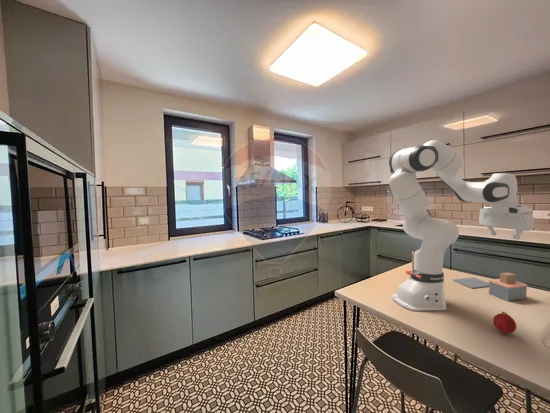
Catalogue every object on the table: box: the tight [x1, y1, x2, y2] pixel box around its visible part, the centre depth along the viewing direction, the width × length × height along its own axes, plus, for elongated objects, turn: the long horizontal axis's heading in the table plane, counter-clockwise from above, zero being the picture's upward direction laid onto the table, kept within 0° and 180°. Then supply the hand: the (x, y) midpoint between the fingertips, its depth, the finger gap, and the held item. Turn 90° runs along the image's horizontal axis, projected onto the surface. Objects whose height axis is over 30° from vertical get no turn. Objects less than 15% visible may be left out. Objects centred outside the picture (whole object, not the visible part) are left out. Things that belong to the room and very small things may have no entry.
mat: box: [452, 277, 489, 290], centre depth 124 cm, size 14×11×1 cm
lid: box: [488, 272, 528, 289], centre depth 108 cm, size 10×8×6 cm
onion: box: [492, 311, 517, 335], centre depth 82 cm, size 6×6×8 cm
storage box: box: [488, 281, 528, 302], centre depth 108 cm, size 10×8×6 cm
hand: (504, 237), depth 108 cm, fingers open, 8 cm apart
